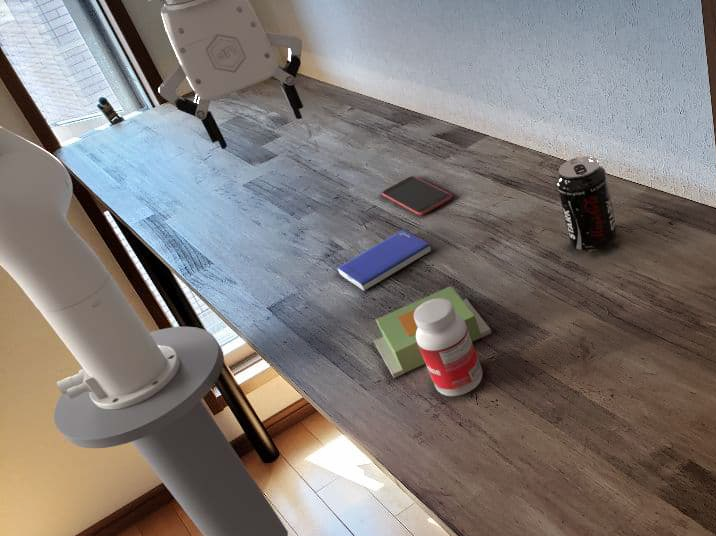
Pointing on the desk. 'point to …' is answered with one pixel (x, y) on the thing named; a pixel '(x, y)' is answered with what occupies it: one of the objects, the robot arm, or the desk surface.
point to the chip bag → (401, 330)
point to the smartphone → (417, 195)
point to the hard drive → (384, 259)
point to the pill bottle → (447, 348)
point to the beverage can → (586, 204)
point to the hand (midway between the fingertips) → (260, 130)
